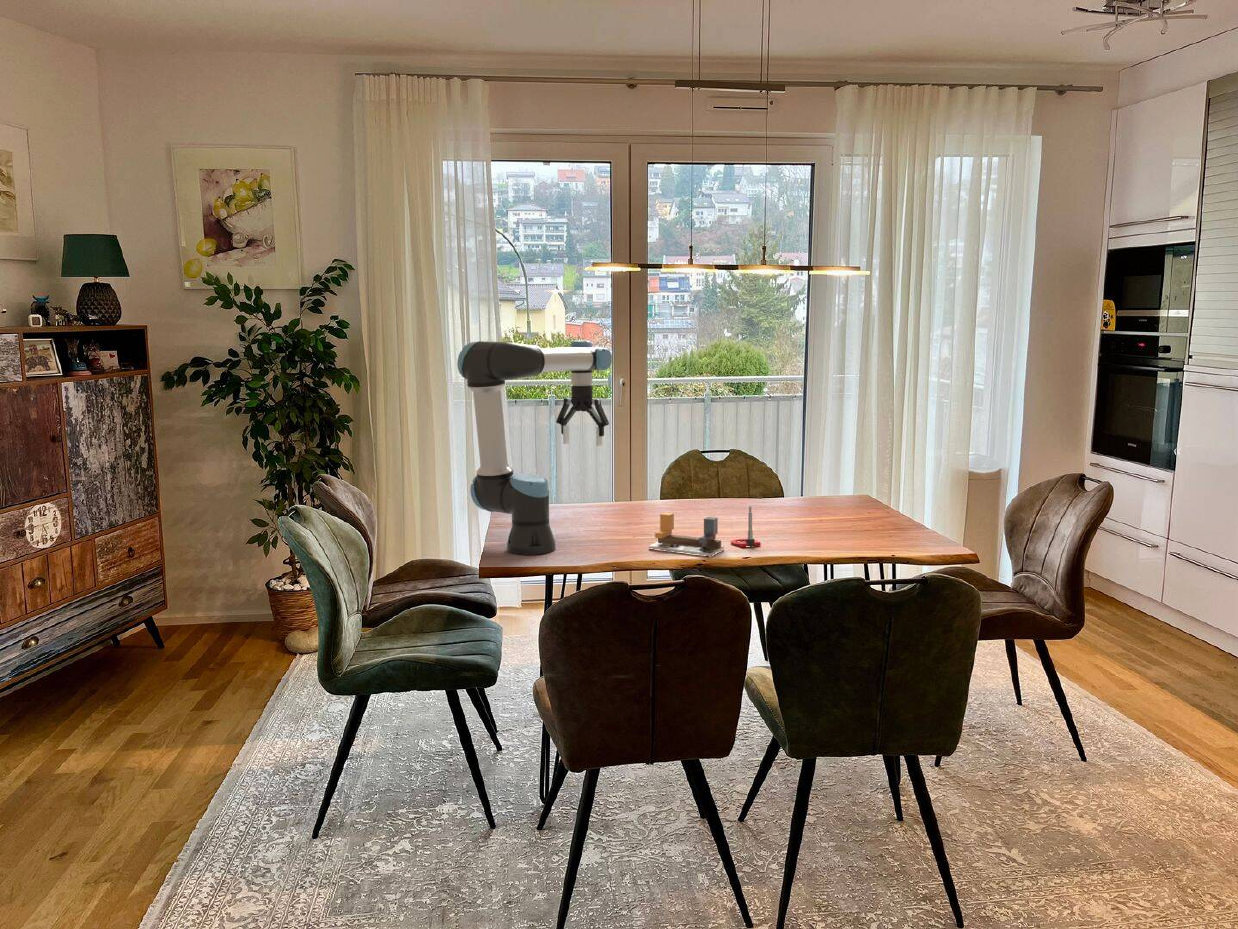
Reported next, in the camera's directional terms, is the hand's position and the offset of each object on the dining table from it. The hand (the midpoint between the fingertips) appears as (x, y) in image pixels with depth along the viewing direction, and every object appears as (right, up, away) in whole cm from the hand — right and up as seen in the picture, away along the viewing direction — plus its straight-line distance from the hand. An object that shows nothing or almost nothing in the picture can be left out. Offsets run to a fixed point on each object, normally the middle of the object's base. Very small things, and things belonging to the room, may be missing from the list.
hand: (582, 444), depth 332 cm
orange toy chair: (+27, -31, -38) cm, 56 cm away
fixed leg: (+40, -32, -46) cm, 69 cm away
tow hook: (+53, -33, -36) cm, 72 cm away
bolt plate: (+34, -34, -43) cm, 64 cm away
